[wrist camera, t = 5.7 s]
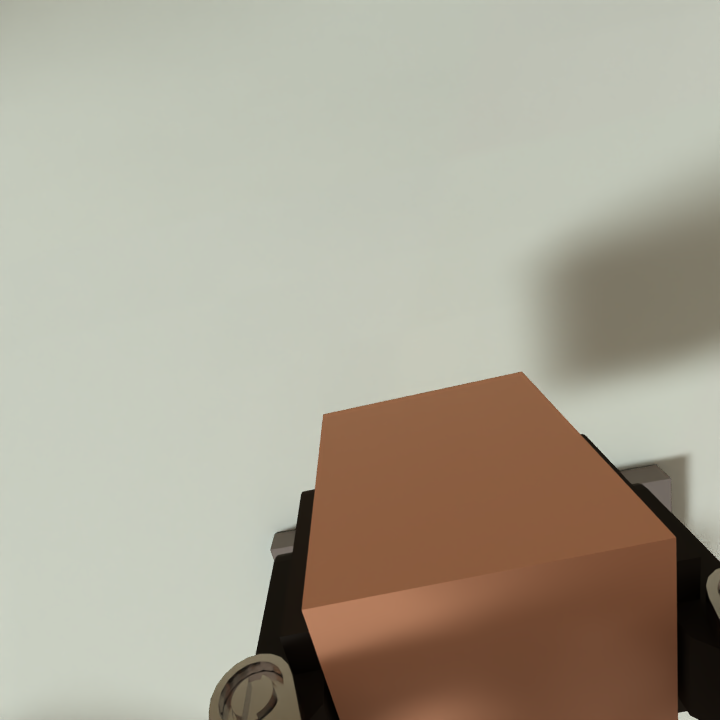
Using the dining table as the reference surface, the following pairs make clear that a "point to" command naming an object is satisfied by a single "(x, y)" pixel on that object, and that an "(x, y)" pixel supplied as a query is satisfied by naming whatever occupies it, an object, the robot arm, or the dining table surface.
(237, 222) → the dining table surface
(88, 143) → the dining table surface
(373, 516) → the terracotta block
